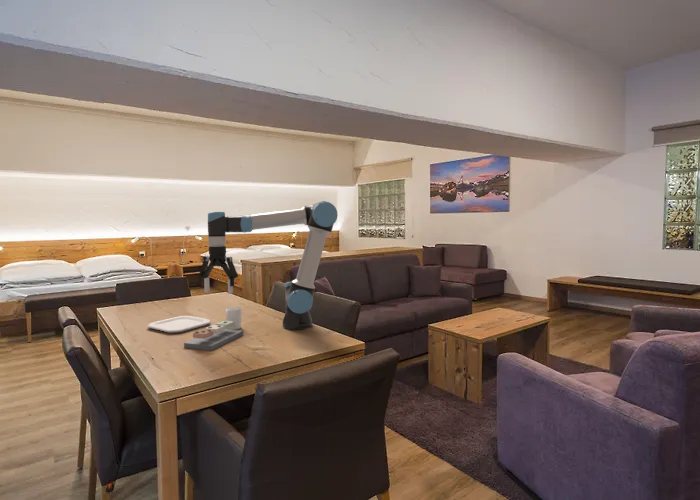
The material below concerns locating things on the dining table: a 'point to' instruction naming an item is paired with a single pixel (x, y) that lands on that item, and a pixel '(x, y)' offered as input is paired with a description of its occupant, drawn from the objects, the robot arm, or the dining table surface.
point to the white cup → (234, 316)
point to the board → (214, 340)
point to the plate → (179, 324)
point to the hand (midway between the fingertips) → (218, 292)
